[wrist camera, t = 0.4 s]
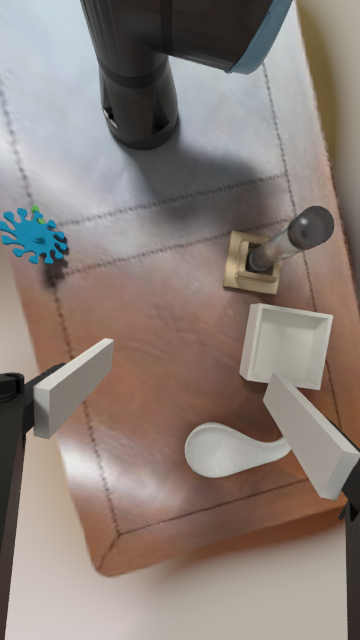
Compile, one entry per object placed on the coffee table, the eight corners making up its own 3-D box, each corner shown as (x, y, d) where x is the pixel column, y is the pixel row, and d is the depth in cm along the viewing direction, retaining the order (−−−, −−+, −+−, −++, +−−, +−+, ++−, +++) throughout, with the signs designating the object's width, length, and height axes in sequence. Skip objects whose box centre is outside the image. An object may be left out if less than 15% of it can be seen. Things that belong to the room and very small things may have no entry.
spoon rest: (189, 468, 40) (193, 502, 33) (178, 420, 39) (180, 443, 32) (286, 444, 41) (310, 471, 34) (277, 397, 40) (300, 414, 33)
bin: (250, 304, 39) (259, 303, 35) (316, 315, 40) (333, 315, 36) (239, 373, 40) (246, 380, 36) (305, 382, 40) (319, 390, 36)
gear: (65, 269, 35) (-6, 250, 28) (57, 276, 39) (-7, 261, 32) (70, 219, 36) (2, 188, 29) (62, 230, 40) (0, 205, 33)
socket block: (231, 232, 38) (237, 224, 35) (282, 242, 39) (293, 235, 36) (222, 286, 39) (227, 283, 35) (273, 294, 39) (283, 292, 36)
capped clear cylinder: (246, 249, 38) (301, 202, 22) (267, 253, 38) (337, 209, 22) (242, 271, 38) (295, 240, 22) (263, 275, 38) (330, 247, 22)
